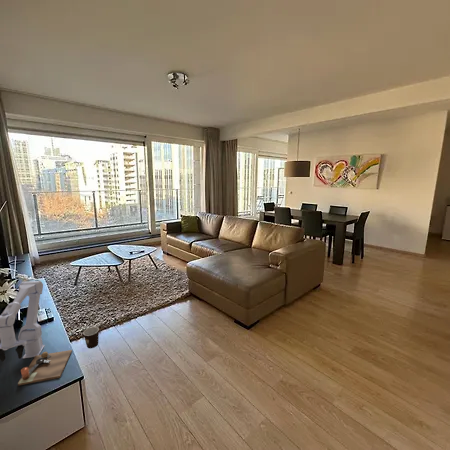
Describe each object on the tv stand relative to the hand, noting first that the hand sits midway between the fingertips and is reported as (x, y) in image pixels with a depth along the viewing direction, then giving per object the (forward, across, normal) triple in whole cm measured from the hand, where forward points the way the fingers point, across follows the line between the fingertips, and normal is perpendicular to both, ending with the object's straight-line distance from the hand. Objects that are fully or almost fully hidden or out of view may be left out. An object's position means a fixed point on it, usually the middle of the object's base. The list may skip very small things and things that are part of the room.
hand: (12, 358), depth 130 cm
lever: (+8, +10, -1) cm, 13 cm away
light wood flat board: (+10, +14, +2) cm, 18 cm away
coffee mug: (+10, +34, +16) cm, 39 cm away
